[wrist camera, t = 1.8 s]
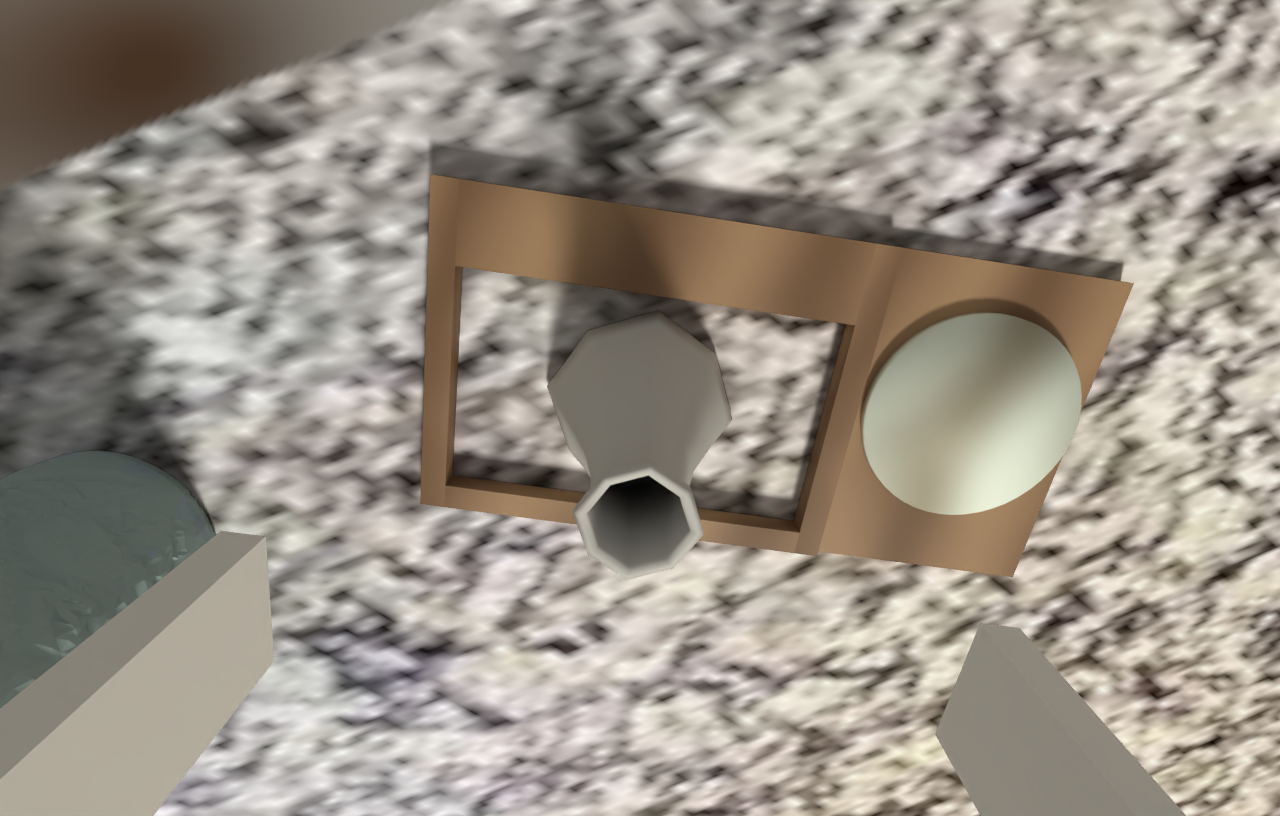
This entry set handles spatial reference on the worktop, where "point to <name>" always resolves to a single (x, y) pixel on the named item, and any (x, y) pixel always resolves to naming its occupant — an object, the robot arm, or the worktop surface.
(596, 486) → the flask
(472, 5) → the worktop surface
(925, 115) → the worktop surface
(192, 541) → the green cup
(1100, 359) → the board
